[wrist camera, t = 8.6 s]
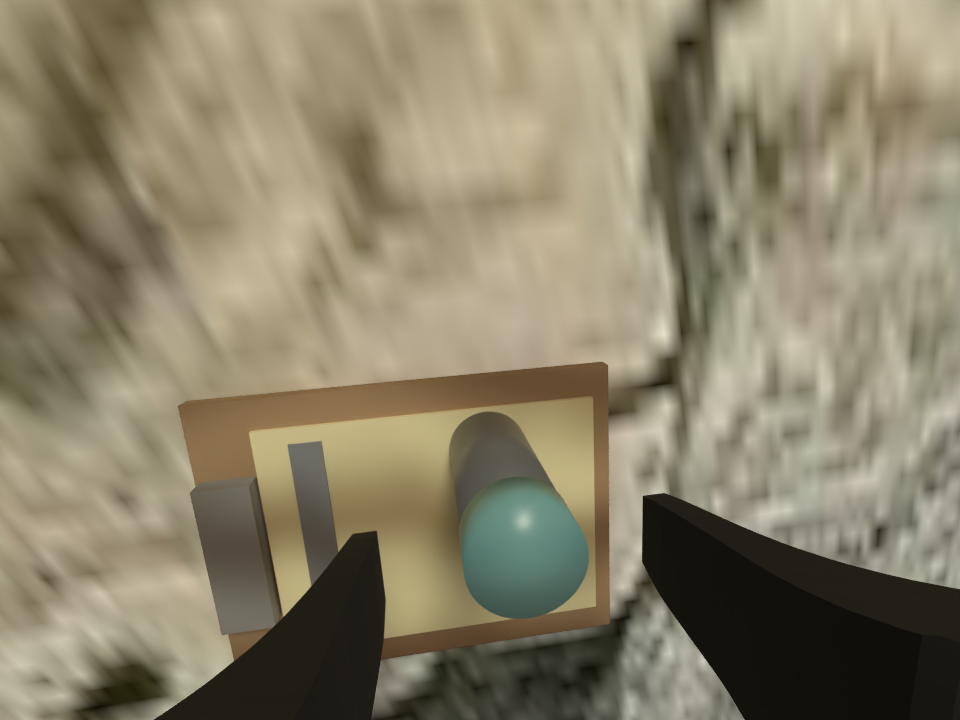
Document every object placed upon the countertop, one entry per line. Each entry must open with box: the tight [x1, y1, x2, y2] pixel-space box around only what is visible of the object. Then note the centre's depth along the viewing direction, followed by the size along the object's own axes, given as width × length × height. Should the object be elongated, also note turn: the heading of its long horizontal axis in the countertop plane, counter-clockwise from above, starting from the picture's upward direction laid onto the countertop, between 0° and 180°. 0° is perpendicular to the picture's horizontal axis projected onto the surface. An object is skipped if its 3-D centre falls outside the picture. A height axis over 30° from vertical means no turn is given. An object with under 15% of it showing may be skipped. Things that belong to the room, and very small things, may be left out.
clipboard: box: [178, 362, 610, 661], centre depth 18 cm, size 12×16×1 cm
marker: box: [449, 411, 589, 619], centre depth 14 cm, size 3×3×7 cm
